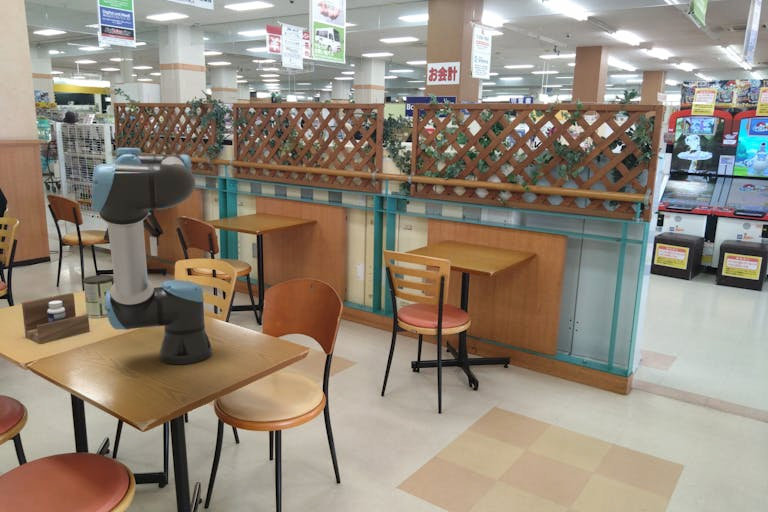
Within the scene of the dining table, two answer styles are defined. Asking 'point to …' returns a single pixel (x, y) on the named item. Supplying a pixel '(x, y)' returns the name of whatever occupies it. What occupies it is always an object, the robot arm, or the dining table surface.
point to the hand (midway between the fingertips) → (136, 258)
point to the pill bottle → (56, 311)
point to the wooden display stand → (47, 332)
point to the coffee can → (97, 294)
